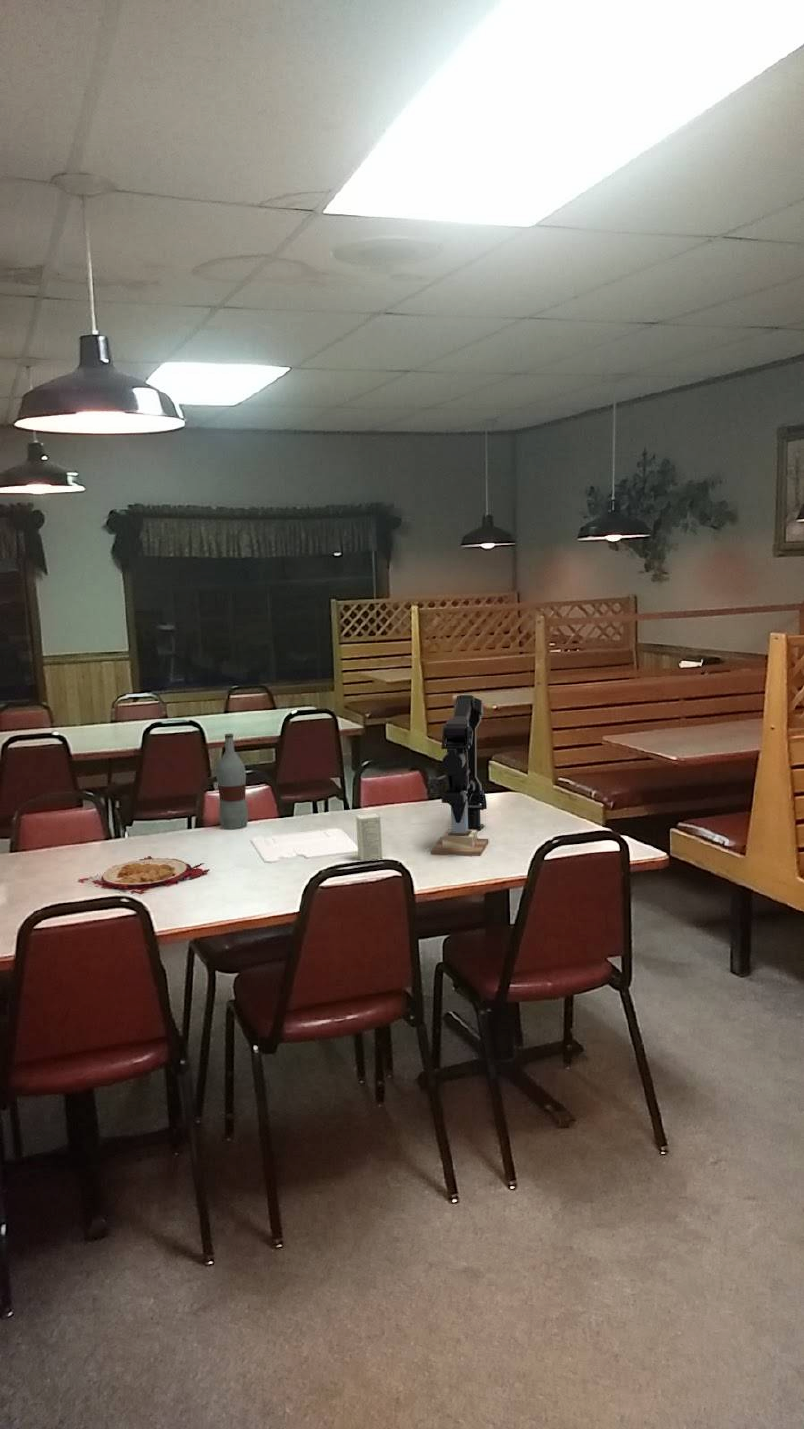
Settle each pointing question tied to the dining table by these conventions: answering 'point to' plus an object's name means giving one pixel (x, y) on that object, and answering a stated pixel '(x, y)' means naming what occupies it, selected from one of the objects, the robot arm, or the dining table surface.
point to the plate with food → (147, 874)
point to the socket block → (460, 844)
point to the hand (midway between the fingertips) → (459, 820)
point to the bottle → (232, 788)
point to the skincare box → (369, 836)
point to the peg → (463, 824)
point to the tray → (304, 845)
